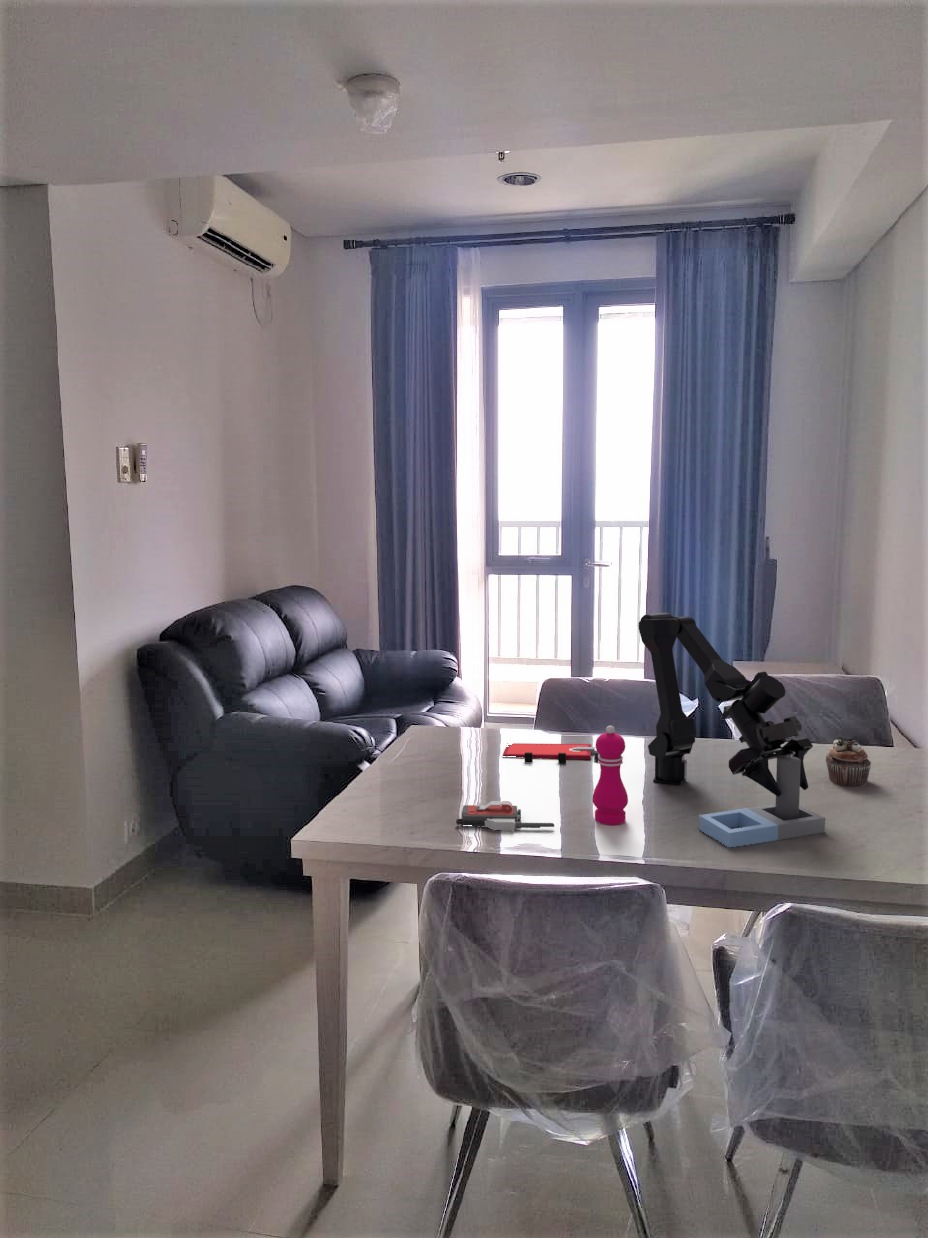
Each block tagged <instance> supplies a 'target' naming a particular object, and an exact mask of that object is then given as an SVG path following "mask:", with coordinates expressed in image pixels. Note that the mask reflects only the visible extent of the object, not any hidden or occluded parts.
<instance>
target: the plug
mask: <svg viewBox="0 0 928 1238" xmlns="http://www.w3.org/2000/svg"><path fill="white" fill-rule="evenodd" d="M800 765H801V760H800V759H799V758H796V757H792V756H780V757H777V758H776V775H775V777H776V779H775V781H776V783H777V784H778V786H779V788H780V791H781V793H782V795H780V796H779V797H777V796H776V795H775V804H776V808H775V816H776V817H777V818H779V819H781V820H783V821H786V820H792V819H799V805H800V791H801V790H800V789H801V787H800Z"/></svg>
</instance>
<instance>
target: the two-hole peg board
mask: <svg viewBox="0 0 928 1238" xmlns="http://www.w3.org/2000/svg"><path fill="white" fill-rule="evenodd" d="M775 808H776V803H773V804H772V803H771V804H763V805H757V806H752V807H745V808H739V809H732V810H725V811H718V812H712V813H705V814H699V815H698V830H699V831H700V830H701V831H700V832H702V833H703V832H704V834H705V835H707V836H708V835H709V837H710V836H711V837H713V838H714V839H713V838H712V839H713V840H715V839H716V840H718V841H719V842H718V841H717V842H718V843H720V842H721V843H722V844H721V843H720V844H721V845H723V844H724V845H725V846H724V845H723V846H724V847H726V846H727V848H728V847H729V848H728V849H731V848H730V847H734V848H737V847H736V846H740V847H744V846H743V845H746V846H751V845H750V844H752V845H758V844H762V843H763V842H764V843H770V842H774V841H782V840H787V839H793V838H799V837H805V836H811V835H818V834H822V833H825V832H826V831H825V830H826V816H823V815H820V814H819V813H816V812H815V811H812V810H810V809H807V808H806V807H804V806H802V805H800V804H799V819H792V820H786V821H783V820H781V819H779V818H777V817H776V816H775ZM738 826H740V827H738ZM731 827H734V828H731ZM741 827H742V828H741ZM711 837H710V838H711ZM716 840H715V841H716ZM756 843H757V844H756Z"/></svg>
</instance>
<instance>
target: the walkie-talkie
mask: <svg viewBox="0 0 928 1238" xmlns="http://www.w3.org/2000/svg"><path fill="white" fill-rule="evenodd" d="M462 805H463V804H462ZM521 819H522V809H521V808H518V806H517V805H513V803H512V802H511V801H506V800H502V801H501V800H491V801H490V802H488V803H486V804H481V803H480V802H476V804H473V805H471V804H467V805H465V804H464V805H463V806H462V810H461V818H457V819H456V820H455V823H456V825H460V826H462V825H472V826H485V827H484V828H487V827H489V828H492V829H495V830H502V831H501V832H515V831H516V829H519V830H520V829H522V828H525V829H540V828H555V823H553V822H521V821H518V820H521Z"/></svg>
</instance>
